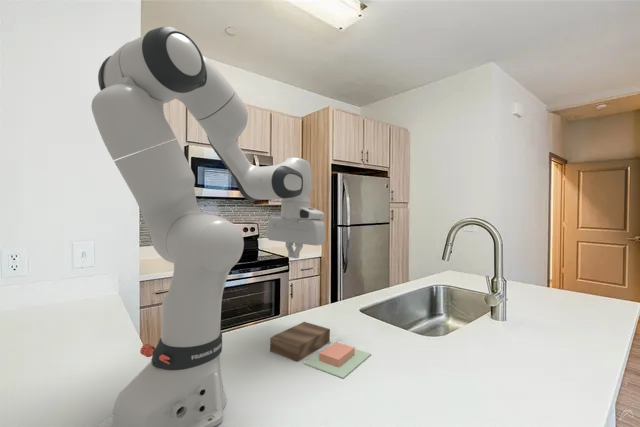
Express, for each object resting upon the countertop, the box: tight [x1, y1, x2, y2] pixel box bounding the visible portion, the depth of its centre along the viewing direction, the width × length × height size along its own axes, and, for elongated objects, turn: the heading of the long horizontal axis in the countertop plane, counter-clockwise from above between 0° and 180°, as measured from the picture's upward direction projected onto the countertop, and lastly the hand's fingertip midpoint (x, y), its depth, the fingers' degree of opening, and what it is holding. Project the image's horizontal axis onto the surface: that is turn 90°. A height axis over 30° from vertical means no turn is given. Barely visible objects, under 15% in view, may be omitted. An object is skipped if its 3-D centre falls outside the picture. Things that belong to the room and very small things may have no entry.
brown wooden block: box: [269, 321, 331, 363], centre depth 93 cm, size 16×10×4 cm, turn 146°
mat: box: [303, 343, 372, 380], centre depth 86 cm, size 16×12×1 cm
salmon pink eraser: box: [318, 341, 356, 367], centre depth 86 cm, size 9×6×2 cm, turn 146°
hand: (293, 257), depth 95 cm, fingers closed
